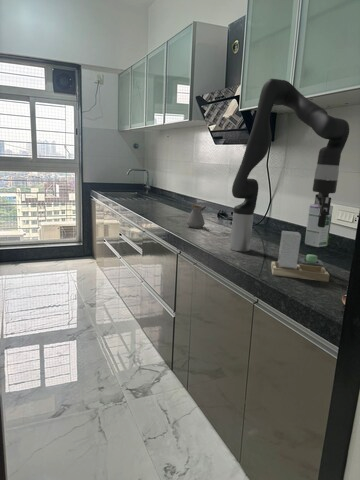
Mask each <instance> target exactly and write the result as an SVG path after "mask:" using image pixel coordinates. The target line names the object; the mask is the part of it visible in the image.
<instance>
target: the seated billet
mask: <svg viewBox="0 0 360 480" xmlns="http://www.w3.org/2000/svg"><path fill="white" fill-rule="evenodd" d="M301 239H302V234H301V233H300V232H299V231H290V230H281V235H280V243H279V250H278V257H277V262H278V263H277V268H283V269H291V270H296V267H297V264H298V261H299V253H300V252H299V251H300V246H301V245H300V244H301V241H302V240H301Z"/></svg>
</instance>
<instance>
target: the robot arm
mask: <svg viewBox="0 0 360 480" xmlns="http://www.w3.org/2000/svg"><path fill="white" fill-rule="evenodd" d="M274 106H284V107H287V108H290V109H291V110H292V111H293V112H294V114H295V115H296V117H297V118H298V119H299V120H300V121H301V122H302V123H304V124H305V125H306V126H308V127H310V128H311V129H312V130H313V131H314V133H315V134H316V135H318V136H319V137H320V138H322V139H324V140H328V141H327V145H326V146H325V147H322V148H320V150H319V152H318V155H317V163H316V168H315V172H314V179H313V186H312V192H314V193H317V194H315V198H314V203H313V204H318V210H319V220H318V227H325V221H326V217H327V215H329V210H330V206H331V202H332V197H329V196H330V194H335V193H336V192H337V186H338V180H339V175H340V163H341V162H340V161H341V155H342V153H343V152H342V151H343V150H344V148H345V146H346V144H347V141H348V139H349V138H348V137H349V135H350V125H349V123H348V121H347V120H345V119H343V118H338V117H333V116H331V115H329V114H328V112H327V111H326V110H325V109H324V108H323V107H322V106H320V105H318V104H316V103H314V102H313V101H311V100H310V99H308V98H307V97H306V96H304V95H303V94H302V93H301V92H300V91H299V90H298V89H297V88H296V87H295V86H294V85H293V84H291V82H289V80H285V79H279V78H278V79H277V78H269V79H267V80H266V81H265V82H264V83H263V86H262V87H261V90H260V95H259V99H258V103H257V108H256V113H255V118H254V120H253V124H252V128H251V130H250V131H251V132H250V134H249V136H248V140H247V142H246V143H247V144H246V147H245V149H244V153H243V157H242V160H241V162H240V165H239V168H238V170H237V173H236V176H235V178H234V181H233V184H232V187H231V194H232V196H233V198H236V199H244V201H243V202H242V203H240V204H237V205H235V206H234V207H233V212H232V213H233V214H232V223H231V233H230V242H229V243H230V244H229V249H230V250H232V251H235V252H249V251H250V247H251V241H252V231H253V223H254V216H255V215H254V214H255V210H256V207H257V200H258V195H259V183H258V181H257V179H255V178H248V177H249V176H250V174H251V173H252V171H253V169H254V168H255V167H257V166H258V164H260V163H261V162H262V161H263V159H264V158H265V157H266V156H267V154H268V151H269V148H270V145H271V143H272V139H273V138H272V130H271V123H270V119H271V118H270V117H271V113H272V110H273V107H274ZM320 205H322V206H320ZM323 210H325V211H323Z"/></svg>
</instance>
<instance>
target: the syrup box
mask: <svg viewBox="0 0 360 480" xmlns="http://www.w3.org/2000/svg"><path fill="white" fill-rule="evenodd" d="M320 206H322V205H320ZM308 208H309V209H308V215H307V216H308V217H307V222H306V223H307V224H306V231H305V237H304V239H305V240H304V244H305V245H307V246H311V247H316V248H320V247H327V246H328V243H329V236H330V230H331V223H332V216H333V209H334V206H333V205H330V210H329V215H327V217H326V221H325V227H318V220H319V210H318V204H314V203H313V204H311V203H310V204H309V207H308ZM323 211H325V210H323Z"/></svg>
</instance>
